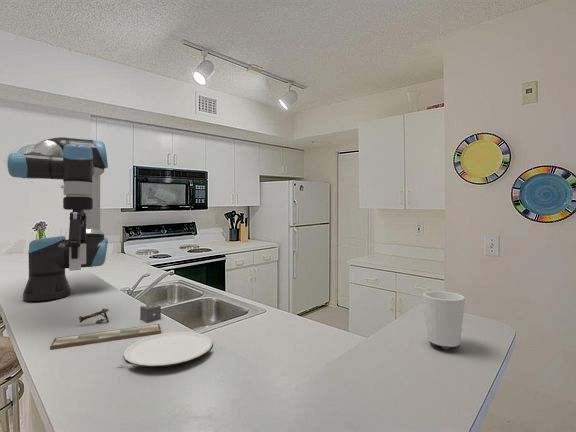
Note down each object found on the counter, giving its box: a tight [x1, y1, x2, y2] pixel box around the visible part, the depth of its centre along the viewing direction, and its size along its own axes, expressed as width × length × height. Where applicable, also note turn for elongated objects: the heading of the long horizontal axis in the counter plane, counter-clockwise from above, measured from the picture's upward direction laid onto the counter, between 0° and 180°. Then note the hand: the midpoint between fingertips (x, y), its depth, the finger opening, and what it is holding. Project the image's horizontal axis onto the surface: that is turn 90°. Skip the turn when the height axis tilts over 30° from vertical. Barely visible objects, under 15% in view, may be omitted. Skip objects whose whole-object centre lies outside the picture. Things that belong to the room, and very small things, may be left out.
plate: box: [123, 331, 213, 368], centre depth 83 cm, size 21×21×1 cm
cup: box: [422, 290, 466, 350], centre depth 85 cm, size 10×10×13 cm
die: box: [139, 303, 162, 324], centre depth 106 cm, size 5×4×5 cm
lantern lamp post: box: [78, 308, 109, 324], centre depth 102 cm, size 4×2×8 cm
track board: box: [49, 323, 162, 351], centre depth 91 cm, size 6×26×1 cm, turn 116°
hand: (78, 267), depth 99 cm, fingers open, 13 cm apart
